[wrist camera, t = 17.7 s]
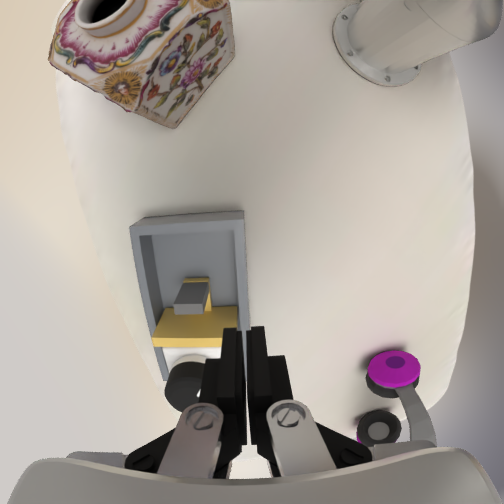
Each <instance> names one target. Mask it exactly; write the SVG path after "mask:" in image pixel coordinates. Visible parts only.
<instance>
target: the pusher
mask: <svg viewBox="0 0 504 504" xmlns="http://www.w3.org/2000/svg"><path fill="white" fill-rule="evenodd" d="M173 306H174V308H165V310H164V312H163V314H162V316H161V318H160V321H159V323H158V325H157V327H156V329H155V331H154V333H153V335H152V337H151V338H152V342H153V346H154V347H221V346H222V337H223V328H234V327H237V326H238V309H237V306H225V307H212V299H211V290H210V281H209V278H185V279H184V281H183V284H182V286H181V288H180V290H179V293H178V295H177V297H176V299H175V301H174V304H173Z"/></svg>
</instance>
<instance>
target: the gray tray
mask: <svg viewBox="0 0 504 504" xmlns="http://www.w3.org/2000/svg"><path fill="white" fill-rule="evenodd" d="M129 229H130V236H131V243H132V249H133V255H134V261H135V267H136V272H137V277H138V282H139V287H140V292H141V297H142V302H143V306H144V310H145V315H146V319H147V323H148V327H149V331H150V335H151V337H152V335H153V333H154V331H155V329H156V327H157V325H158V323H159V321H160V318H161V316H162V314H163V312H164V310H165V308H174V306H173V304H174V301H175V299H176V297H177V295H178V293H179V290H180V288H181V286H182V284H183V281H184V279H185V278H209V281H210V290H211V299H212V307H225V306H237V309H238V326H237V331H242V337H243V350H244V363H245V376H246V381H247V357H246V330H250V320H249V302H248V284H247V265H246V246H245V226H244V211H228V212H211V213H195V214H181V215H168V216H156V217H144V218H143V219H141V220H139V221H138V222H136V223H135V224H133V225H132V226H130V227H129ZM151 339H152V338H151ZM152 343H153V342H152ZM153 347H154V346H153ZM154 350H155V354H156V357H157V361H158V364H159V368H160V371H161V374H162V378H163V381H167V380H168V377H169V374H170V373H169V370H168V367H167V364H166V360H165V357H164V353H163V350H162V347H154Z"/></svg>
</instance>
